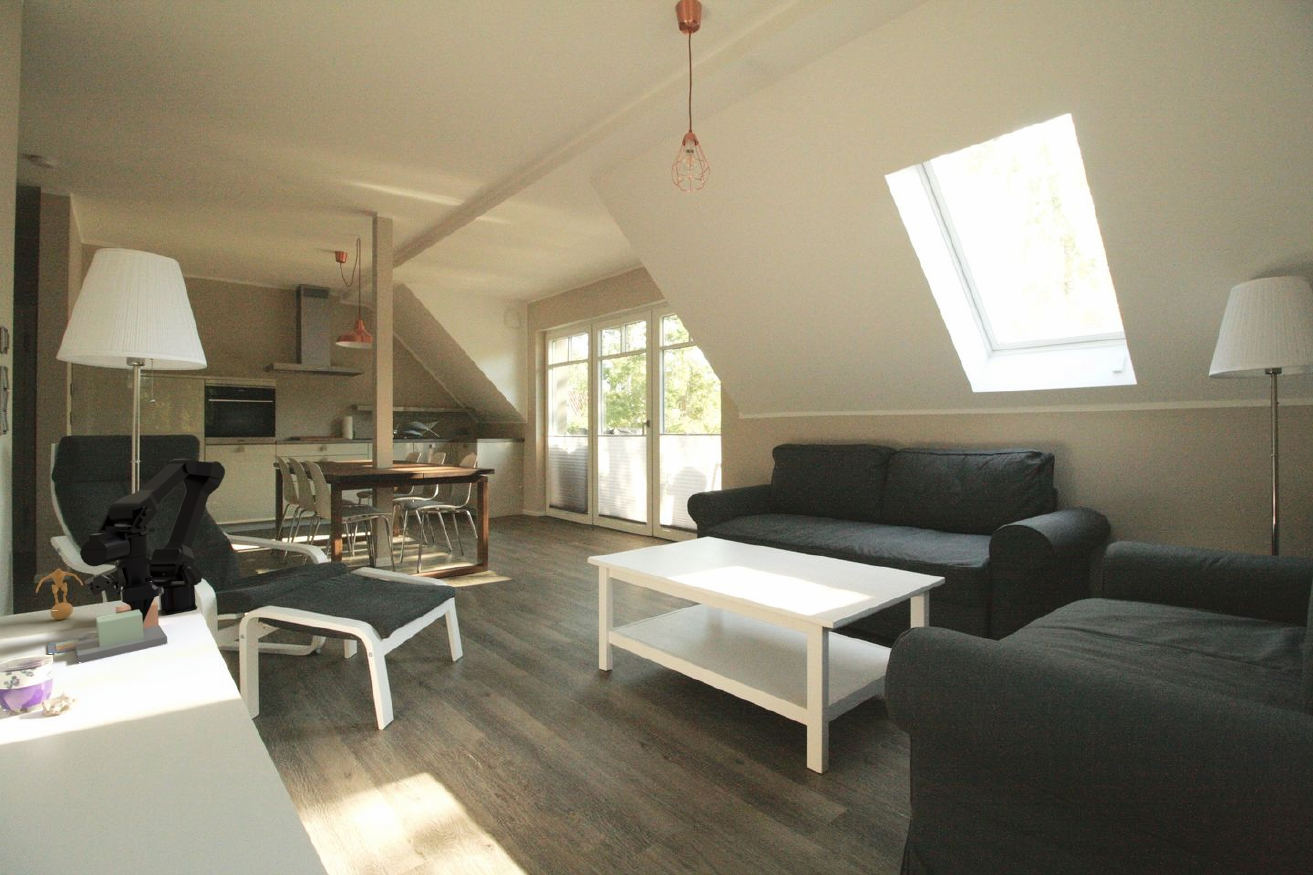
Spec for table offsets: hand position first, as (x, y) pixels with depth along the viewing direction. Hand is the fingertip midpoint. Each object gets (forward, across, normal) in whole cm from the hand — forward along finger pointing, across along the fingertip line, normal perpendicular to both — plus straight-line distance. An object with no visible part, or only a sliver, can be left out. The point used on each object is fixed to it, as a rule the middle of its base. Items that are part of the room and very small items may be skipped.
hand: (137, 622), depth 146 cm
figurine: (+1, -23, -12) cm, 26 cm away
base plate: (+1, +13, -4) cm, 14 cm away
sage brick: (0, +13, -4) cm, 14 cm away
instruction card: (+1, +4, -12) cm, 13 cm away
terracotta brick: (+1, 0, 0) cm, 1 cm away
